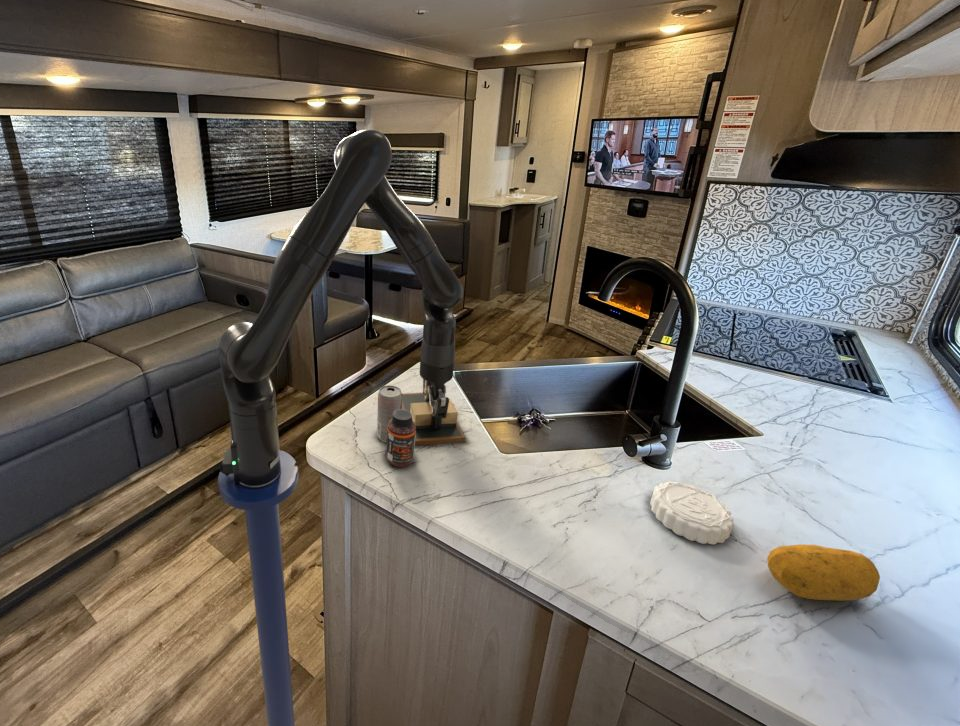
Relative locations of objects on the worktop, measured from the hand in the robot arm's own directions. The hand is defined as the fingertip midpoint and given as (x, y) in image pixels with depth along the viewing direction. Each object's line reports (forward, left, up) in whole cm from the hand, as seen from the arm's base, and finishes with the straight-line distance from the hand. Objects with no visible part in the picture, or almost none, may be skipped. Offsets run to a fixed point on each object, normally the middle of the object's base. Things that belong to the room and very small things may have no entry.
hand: (432, 421), depth 109 cm
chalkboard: (0, +3, -1) cm, 4 cm away
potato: (+47, -48, -2) cm, 67 cm away
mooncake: (+39, -33, -2) cm, 51 cm away
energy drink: (-11, -3, -2) cm, 12 cm away
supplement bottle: (-10, -11, -2) cm, 15 cm away
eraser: (0, 0, 0) cm, 0 cm away
